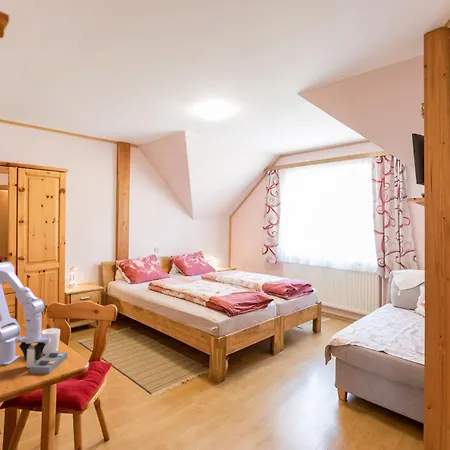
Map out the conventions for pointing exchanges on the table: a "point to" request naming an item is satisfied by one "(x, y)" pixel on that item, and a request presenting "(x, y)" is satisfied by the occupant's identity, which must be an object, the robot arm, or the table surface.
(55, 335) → the white cup
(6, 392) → the table surface
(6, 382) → the table surface
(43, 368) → the socket strip
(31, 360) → the plug
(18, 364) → the table surface
